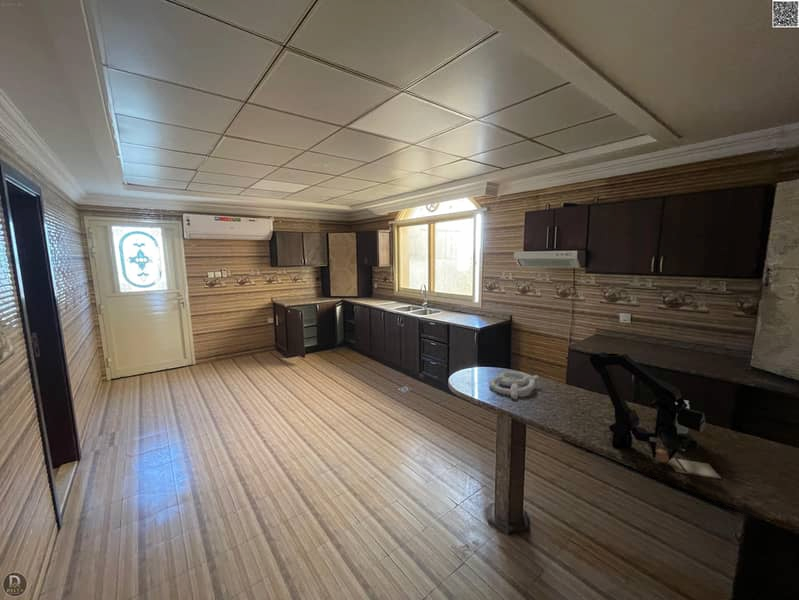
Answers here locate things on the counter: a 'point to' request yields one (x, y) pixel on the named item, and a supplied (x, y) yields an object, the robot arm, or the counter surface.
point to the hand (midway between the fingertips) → (661, 458)
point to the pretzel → (514, 383)
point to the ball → (661, 456)
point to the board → (693, 468)
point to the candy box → (681, 428)
